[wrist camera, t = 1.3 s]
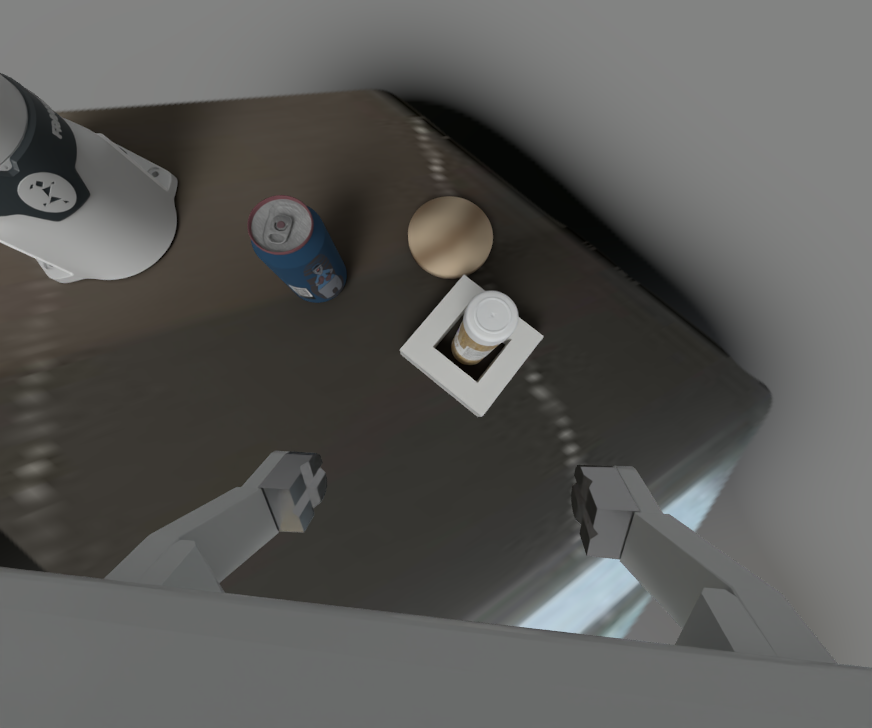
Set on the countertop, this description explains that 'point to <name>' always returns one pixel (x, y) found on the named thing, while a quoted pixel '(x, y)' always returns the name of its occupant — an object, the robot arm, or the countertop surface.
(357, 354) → the countertop surface
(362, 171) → the countertop surface
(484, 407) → the collar
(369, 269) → the countertop surface
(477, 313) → the sprinkles bottle
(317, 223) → the soda can
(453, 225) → the disc
